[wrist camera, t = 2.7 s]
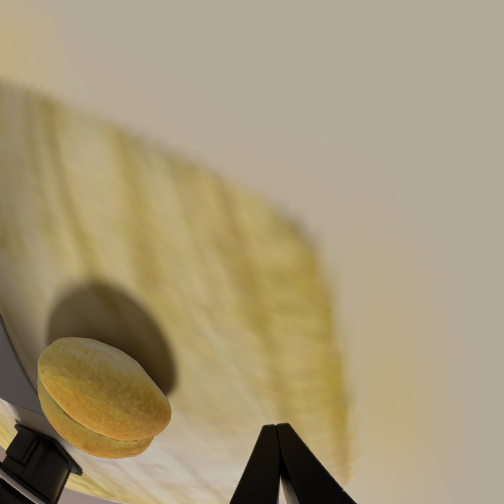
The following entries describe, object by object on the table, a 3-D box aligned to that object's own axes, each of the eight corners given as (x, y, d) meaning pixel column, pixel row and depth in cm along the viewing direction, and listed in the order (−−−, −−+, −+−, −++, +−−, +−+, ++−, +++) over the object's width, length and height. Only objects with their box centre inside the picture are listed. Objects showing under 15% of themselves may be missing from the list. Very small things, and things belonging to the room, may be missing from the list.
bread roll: (194, 380, 13) (183, 441, 9) (141, 442, 15) (129, 485, 11) (58, 297, 11) (14, 339, 8) (43, 384, 14) (19, 421, 10)
